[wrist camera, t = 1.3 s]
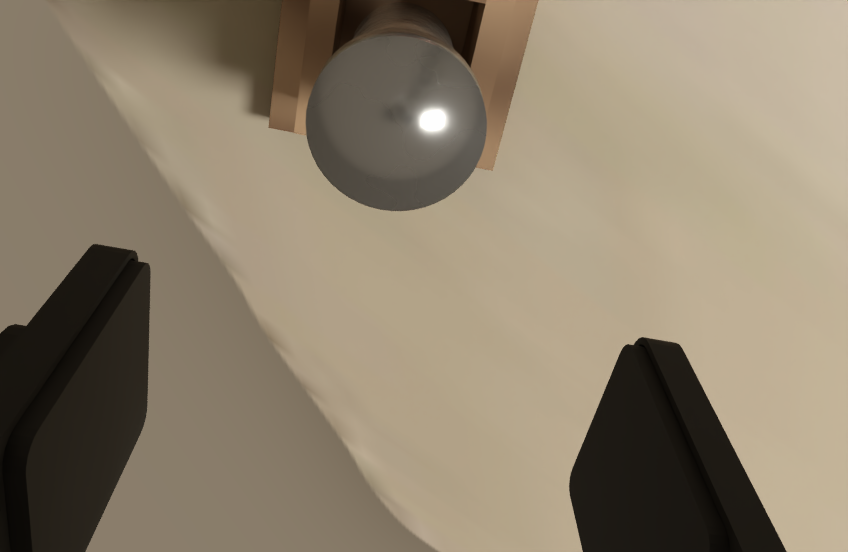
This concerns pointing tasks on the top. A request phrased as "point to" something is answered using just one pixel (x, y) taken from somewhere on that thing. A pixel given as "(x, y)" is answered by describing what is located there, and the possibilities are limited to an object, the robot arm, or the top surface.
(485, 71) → the socket board
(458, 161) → the plug
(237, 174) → the top surface
